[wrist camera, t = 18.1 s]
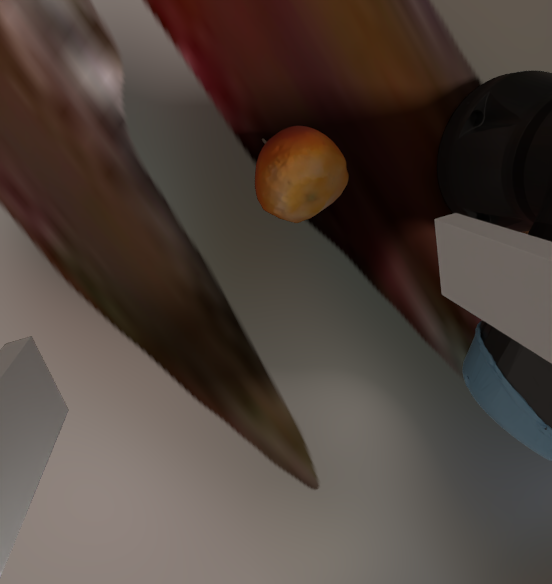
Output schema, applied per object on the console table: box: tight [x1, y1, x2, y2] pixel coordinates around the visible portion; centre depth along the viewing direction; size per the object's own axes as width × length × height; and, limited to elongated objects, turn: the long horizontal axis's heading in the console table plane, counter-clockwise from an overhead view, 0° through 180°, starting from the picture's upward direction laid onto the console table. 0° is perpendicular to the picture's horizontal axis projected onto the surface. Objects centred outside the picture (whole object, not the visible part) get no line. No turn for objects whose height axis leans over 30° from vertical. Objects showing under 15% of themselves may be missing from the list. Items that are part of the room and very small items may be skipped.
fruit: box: [255, 126, 349, 223], centre depth 39 cm, size 8×8×8 cm
